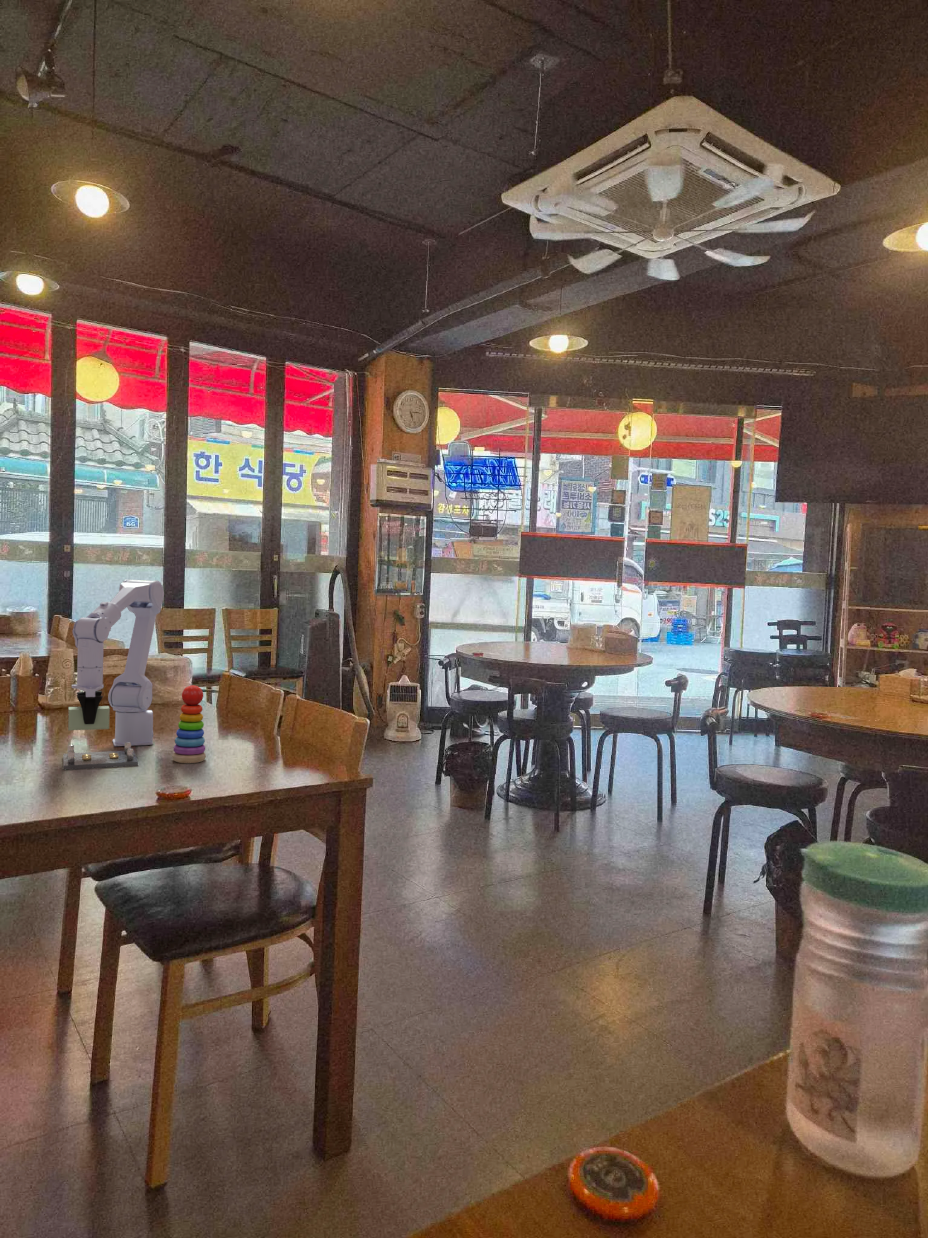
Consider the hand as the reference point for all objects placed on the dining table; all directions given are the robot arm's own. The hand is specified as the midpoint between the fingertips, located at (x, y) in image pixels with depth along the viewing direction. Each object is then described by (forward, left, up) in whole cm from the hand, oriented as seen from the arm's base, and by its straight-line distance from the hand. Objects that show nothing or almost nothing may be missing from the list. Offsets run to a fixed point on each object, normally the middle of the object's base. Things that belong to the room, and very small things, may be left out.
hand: (89, 722), depth 201 cm
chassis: (-3, +4, -9) cm, 10 cm away
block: (0, 0, -1) cm, 1 cm away
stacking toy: (-23, +8, -9) cm, 26 cm away
